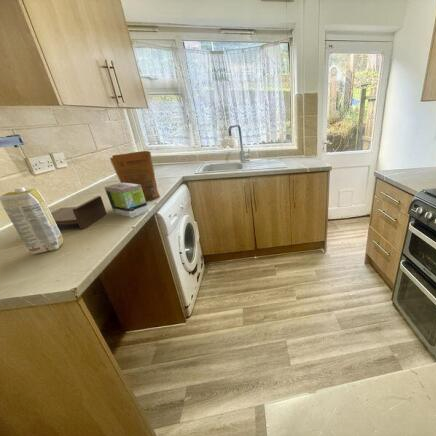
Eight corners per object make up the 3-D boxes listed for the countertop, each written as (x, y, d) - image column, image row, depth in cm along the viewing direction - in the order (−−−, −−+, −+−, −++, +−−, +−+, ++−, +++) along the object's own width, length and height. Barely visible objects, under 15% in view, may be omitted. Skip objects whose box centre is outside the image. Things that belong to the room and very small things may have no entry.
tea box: (149, 211, 127) (141, 183, 121) (130, 218, 119) (120, 189, 113) (132, 207, 134) (123, 181, 128) (113, 214, 126) (102, 186, 120)
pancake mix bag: (163, 199, 144) (149, 151, 133) (126, 205, 137) (108, 155, 125) (163, 196, 150) (150, 149, 138) (127, 202, 143) (110, 153, 131)
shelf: (35, 233, 107) (24, 212, 103) (65, 217, 123) (57, 198, 119) (84, 229, 109) (75, 209, 105) (107, 214, 125) (100, 195, 121)
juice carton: (67, 240, 99) (38, 183, 89) (60, 249, 93) (28, 189, 83) (37, 246, 96) (4, 188, 86) (28, 256, 89) (-9, 194, 79)
